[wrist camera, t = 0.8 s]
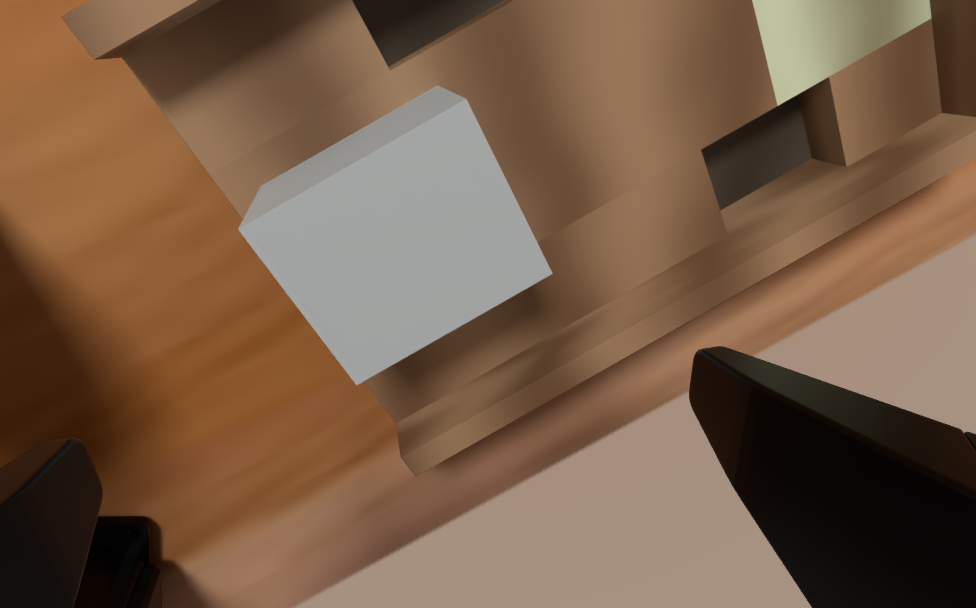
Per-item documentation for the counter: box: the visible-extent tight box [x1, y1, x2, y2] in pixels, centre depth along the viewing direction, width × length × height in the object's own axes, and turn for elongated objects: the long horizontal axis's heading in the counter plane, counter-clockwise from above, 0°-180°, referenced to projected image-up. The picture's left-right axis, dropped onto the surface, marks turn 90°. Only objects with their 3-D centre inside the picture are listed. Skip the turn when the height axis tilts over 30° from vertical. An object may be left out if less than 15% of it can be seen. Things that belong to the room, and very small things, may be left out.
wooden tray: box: [61, 0, 976, 476], centre depth 18 cm, size 24×16×5 cm, turn 116°
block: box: [238, 85, 553, 385], centre depth 17 cm, size 6×5×4 cm
